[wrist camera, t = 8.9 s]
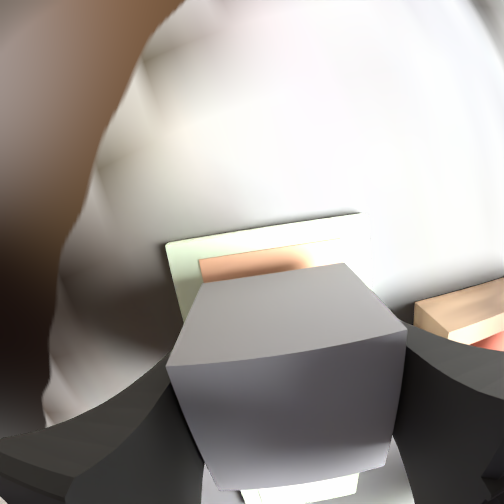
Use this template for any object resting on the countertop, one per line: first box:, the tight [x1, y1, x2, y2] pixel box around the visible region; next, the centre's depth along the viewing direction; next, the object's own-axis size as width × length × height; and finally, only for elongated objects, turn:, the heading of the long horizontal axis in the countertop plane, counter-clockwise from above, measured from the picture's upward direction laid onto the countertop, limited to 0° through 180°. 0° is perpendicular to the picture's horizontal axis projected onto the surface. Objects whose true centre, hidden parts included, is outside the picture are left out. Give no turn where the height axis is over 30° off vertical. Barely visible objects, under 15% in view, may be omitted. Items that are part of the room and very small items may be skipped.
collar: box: [413, 277, 504, 345], centre depth 12 cm, size 8×8×3 cm
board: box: [165, 213, 372, 504], centre depth 14 cm, size 8×20×1 cm, turn 9°
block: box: [165, 262, 407, 491], centre depth 9 cm, size 5×5×5 cm
